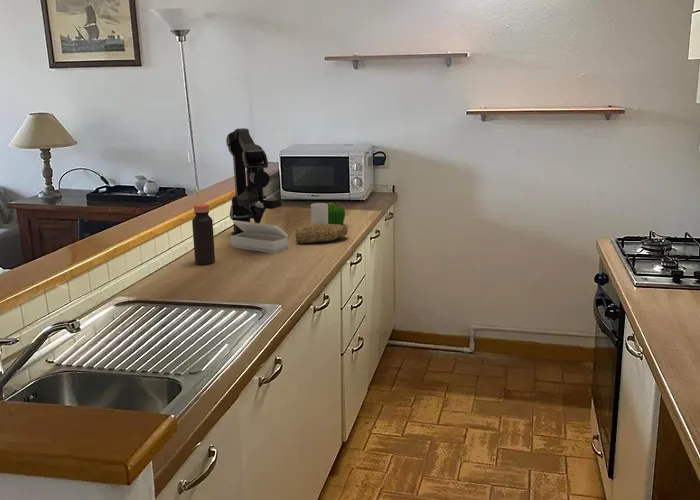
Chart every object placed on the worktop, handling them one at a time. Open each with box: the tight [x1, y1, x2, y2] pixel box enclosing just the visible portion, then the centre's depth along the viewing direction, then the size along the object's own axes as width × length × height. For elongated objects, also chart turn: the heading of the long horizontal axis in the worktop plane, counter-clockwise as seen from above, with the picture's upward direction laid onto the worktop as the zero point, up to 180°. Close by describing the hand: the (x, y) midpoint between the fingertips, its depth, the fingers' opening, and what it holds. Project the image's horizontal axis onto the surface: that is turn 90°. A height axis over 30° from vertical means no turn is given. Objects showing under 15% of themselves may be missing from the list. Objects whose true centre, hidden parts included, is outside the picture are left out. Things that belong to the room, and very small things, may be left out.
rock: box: [294, 223, 349, 244], centre depth 266 cm, size 13×8×20 cm
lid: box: [232, 220, 289, 238], centre depth 257 cm, size 20×8×1 cm
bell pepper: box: [328, 202, 346, 226], centre depth 290 cm, size 8×8×10 cm
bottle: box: [191, 203, 216, 266], centre depth 236 cm, size 7×7×20 cm
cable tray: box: [230, 232, 289, 254], centre depth 257 cm, size 20×8×4 cm, turn 60°
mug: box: [310, 202, 329, 226], centre depth 277 cm, size 10×7×12 cm, turn 166°
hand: (257, 224), depth 256 cm, fingers closed, pressing on lid
